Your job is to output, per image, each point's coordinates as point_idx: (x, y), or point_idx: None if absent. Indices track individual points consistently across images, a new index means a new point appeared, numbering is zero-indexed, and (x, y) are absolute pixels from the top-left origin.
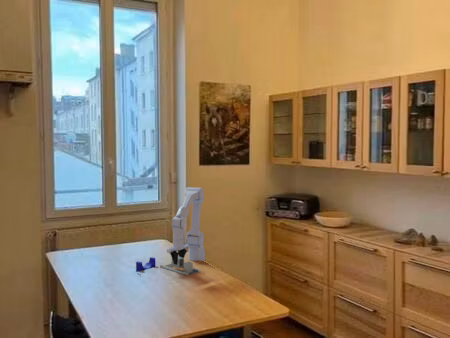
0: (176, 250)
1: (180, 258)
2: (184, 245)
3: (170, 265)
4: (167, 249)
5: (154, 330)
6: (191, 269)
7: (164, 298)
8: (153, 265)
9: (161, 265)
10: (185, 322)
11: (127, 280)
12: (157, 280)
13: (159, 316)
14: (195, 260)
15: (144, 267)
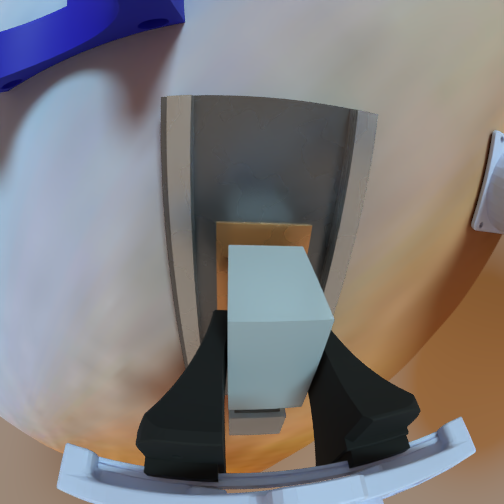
0: (234, 484)
1: (258, 406)
2: (414, 485)
3: (303, 141)
4: (62, 487)
5: (13, 424)
6: None
7: (36, 401)
8: (142, 20)
9: (172, 116)
10: (57, 445)
11: None
12: (39, 299)
13: (20, 418)
14: (497, 226)
15: (68, 8)
